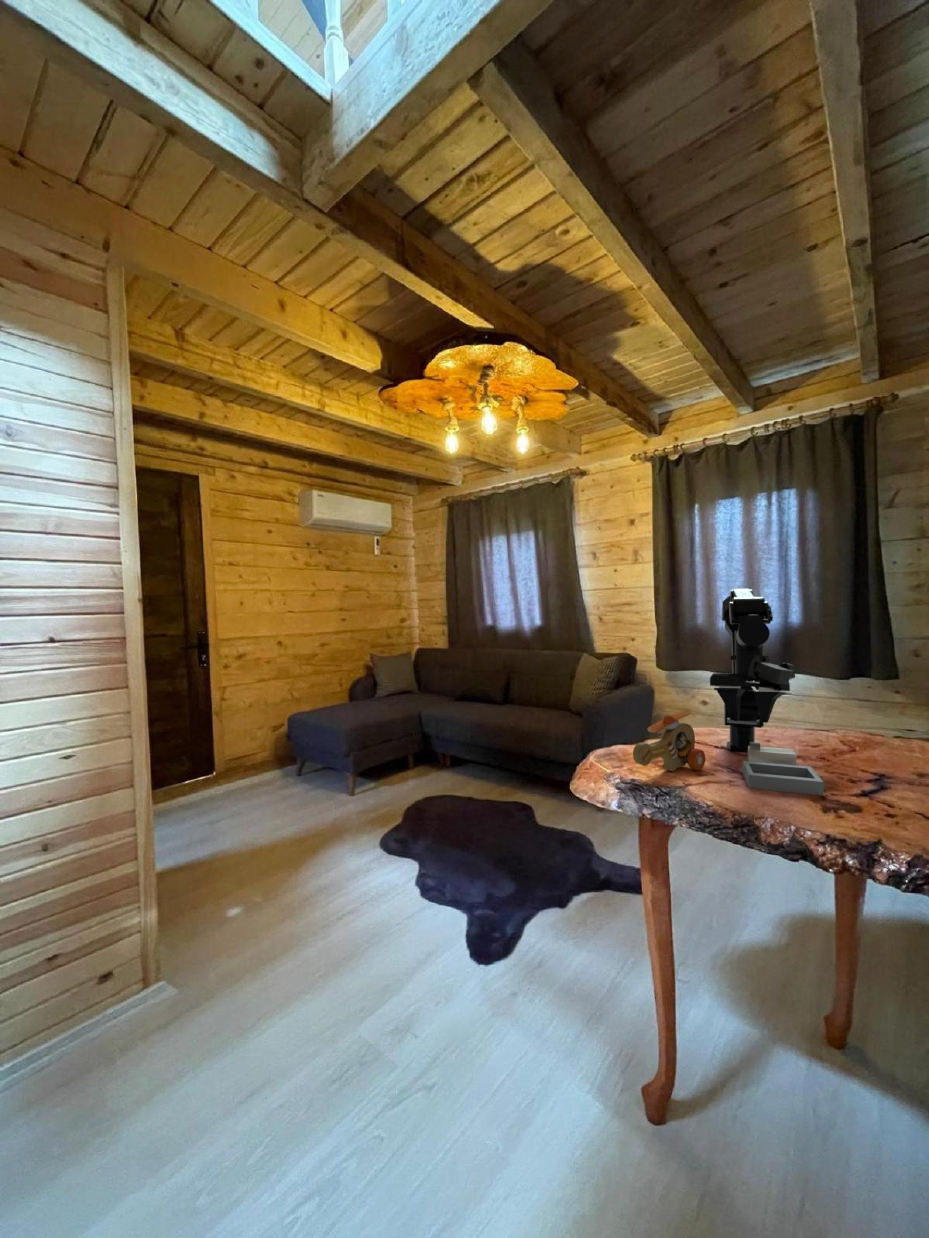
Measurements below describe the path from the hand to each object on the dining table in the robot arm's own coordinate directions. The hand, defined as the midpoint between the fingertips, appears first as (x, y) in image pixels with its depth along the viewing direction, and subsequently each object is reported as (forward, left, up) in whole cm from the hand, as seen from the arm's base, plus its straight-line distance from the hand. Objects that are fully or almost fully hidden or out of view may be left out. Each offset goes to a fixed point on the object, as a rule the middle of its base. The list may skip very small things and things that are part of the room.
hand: (750, 721), depth 111 cm
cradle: (+3, +5, -12) cm, 14 cm away
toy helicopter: (+2, -17, -12) cm, 21 cm away
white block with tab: (-7, +5, -12) cm, 15 cm away
